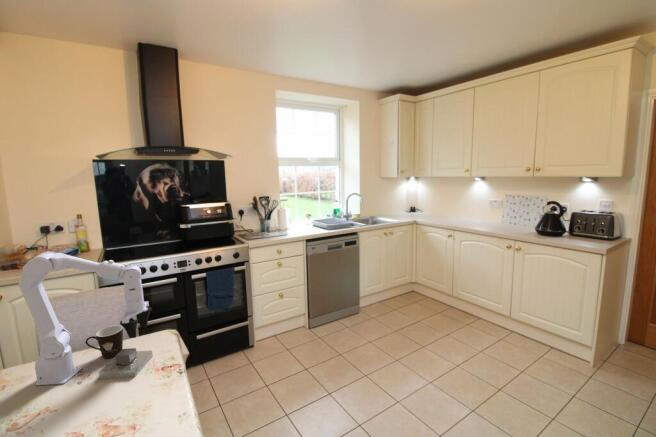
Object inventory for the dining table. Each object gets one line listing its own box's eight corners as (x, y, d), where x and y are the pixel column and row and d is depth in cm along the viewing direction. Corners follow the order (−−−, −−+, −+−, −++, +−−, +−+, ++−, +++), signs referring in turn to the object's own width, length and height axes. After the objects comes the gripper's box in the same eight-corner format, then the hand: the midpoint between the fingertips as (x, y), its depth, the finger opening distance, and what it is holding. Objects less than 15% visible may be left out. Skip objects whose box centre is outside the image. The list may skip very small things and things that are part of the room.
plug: (117, 371, 110) (115, 355, 109) (125, 363, 114) (123, 348, 113) (130, 370, 110) (129, 355, 109) (137, 363, 115) (135, 348, 114)
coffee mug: (130, 348, 124) (128, 325, 123) (114, 361, 116) (111, 336, 114) (104, 347, 125) (101, 324, 124) (86, 360, 117) (82, 335, 115)
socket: (99, 378, 106) (98, 370, 106) (120, 358, 118) (119, 350, 117) (135, 376, 107) (134, 368, 106) (152, 356, 119) (151, 349, 118)
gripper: (134, 305, 108) (138, 341, 110) (155, 290, 122) (158, 322, 124) (113, 306, 107) (118, 342, 109) (136, 291, 122) (140, 323, 123)
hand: (138, 332), depth 116 cm, fingers open, 7 cm apart
